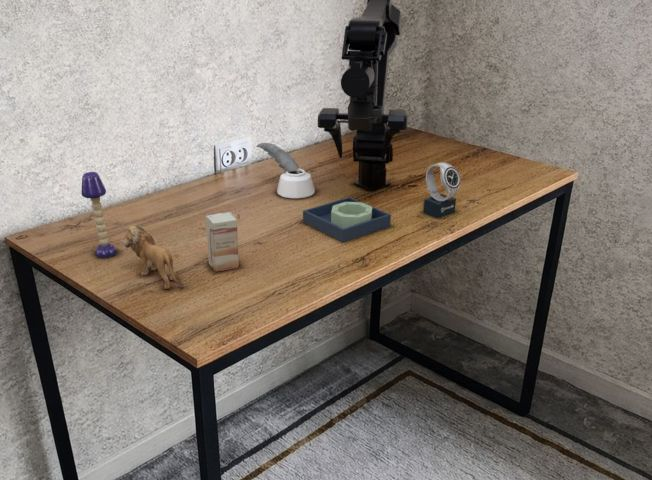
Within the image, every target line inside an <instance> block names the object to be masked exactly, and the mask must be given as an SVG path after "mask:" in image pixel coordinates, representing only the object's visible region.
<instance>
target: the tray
mask: <svg viewBox="0 0 652 480" xmlns="http://www.w3.org/2000/svg"><path fill="white" fill-rule="evenodd" d="M343 202H362V201H360V200H358V199H356V198H353V197H351V196H348V197H344V198H340V199H337V200H334V201H331V202H327V203H324V204H321V205H316V206H314V207H311V208H307V209H304V210H302V223H304V224H305V225H308V226H310V227H311V228H314V229H316V230H317V231H320V232H322V233H324V234H325V235H328V236H329V237H332V238H333V239H336V240H338V241H340V242H341V243H345V242H347V241H350V240H351V241H352V240H354V239H357V238H359V237H363V236H365V235H369V234H372V233H374V232H377V231H380V230H384V229H387V228H390V227H391V220H392V214H390V213H388V212H386V211H384V210H381V209H379V208H377V207H374V206H373V205H370V204H367V203H365V202H362V203H364V204H366V205H369V206H371V207H372V220H369V221H365V222H362V223H359V224H356V225H353V226H350V227H347V228H344V229H343V228H341V227H339V226H337V225H335V224H333V223H331V211H332V207H333V205H337V204H340V203H343Z"/></svg>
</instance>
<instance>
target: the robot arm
mask: <svg viewBox="0 0 652 480" xmlns="http://www.w3.org/2000/svg"><path fill="white" fill-rule="evenodd" d="M402 26H403V19H402V12H401V10H400V9H399V8H398V7H396V6H395V5H394V4H393V2H392V0H367V1H366V6H365V8H364V10H363V12H362V14H361V16H358V17H353V18H351V19H350V20H349V22H348V25H346V26H345V28H344V35H343V43H342V51H341V60H343V61H344V60H346V61H348V67H347V68H346V70H345V71H344V72H343V74H342V76H341V77H340V87H341V90H342V91H343V93H344V94H345V95H346V96H348V97H349V103H348V107H347V113H346V112H345V113H344V112H343V113H340V110H339V108H338V107H322V108H321V109H320V111H319V112H318V115H317V128H319V129H323V131H324V132H326V133H329V135H330V136H331V138H332V140H333V142H334V145H335V148H336V150H337V154H338V157H339V159H342V158H343V141H342V140H343V138H342V127H341V124H348V125H347V126H348V127H347V128H348V130H349V131H351V132H355V131H356V133H355V135H353V139H352V157H353V158H352V159H353V162H354V163H358V179H357V180H354V181H353V182H352V183H353V185H355V186H357V187H359V188H362V189H365V190H367V191H370V192H371V191H375V190H378V189H381V188H385V187H389V186H390V185H391V184H390V182H388V181H387V168H386V167H387V165H389V163H392V162H394V161H393V160H394V150H393V149H394V148H393V143H392V142H391V141H392V139H393V138H394V136H395V135H396V134H397V135H399V134H400V133H401V131H406V130H407V127H408V115H409V114H408V111H407V110H406V109H389V110H388V114H385V103H386V96H387V95H386V94H387V84H388V83H387V82H388V74H389V62H390V55H391V54H392V53H393V51H394V50H395V48H396V47H397V45H398V40H399V36H401V34H402V29H403V28H402Z"/></svg>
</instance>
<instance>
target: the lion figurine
mask: <svg viewBox="0 0 652 480" xmlns="http://www.w3.org/2000/svg"><path fill="white" fill-rule="evenodd" d="M127 229H128V231H127V233H126V234H125V236H124V237H123V238H122V239H121V240H120V242H121V243H122V244H123V245H124V247H125V249H129V248H130V249H131V251H132V252H134V253H135V254H136V257H138V258H139V261H140V264H141V267H142V269H143V270H142V271H141V272H140V275H141V276H147V275H149V272H150V271H149V267H148V261H149V262H150V263H151V266H150V270H151V271H156V270H157V271H158V273H159V275H160V276H161V278H162V279H163V281H164V283H165V284H164V285H163V289H164V290H169V289H171V281H174V282H175V283H176V284H177V285H178V286H179V287H184V286H185V284H184V283H182V282H181V281H180V280H178V279H177V278H176V274H175V271H174V259H173V256H172V254H171V252H170V251H169V249H167V248H166V247H162V246H160V245H159V244H157V243H156V242H155V240H154V238H153V236H152V235H151V233H149V232H148V231H147V230H145V229H144V228H143V227H141V226H139V225H131V226H128V227H127ZM166 267H167V268H168V271H169V277H168V275H167V273H166V269H165V268H166ZM170 280H171V281H170Z"/></svg>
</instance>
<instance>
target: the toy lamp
mask: <svg viewBox="0 0 652 480" xmlns="http://www.w3.org/2000/svg"><path fill="white" fill-rule="evenodd" d="M106 193H107V190H106V187H105V185H104V182H103V180H102V179H101V177H100V175H99V173H98V172H96V171H88V172H84V173H83V174H82V177H81V193H80V194H81V196H82V197H83V198H85V199H90V201H91V207H92V209H93V212H92V213H93V216H94V222H95V224H96V227H95V228H96V230H97V236H98V238H99V245H97V247H96V248H95V256H96V257H97V258H102V259H103V258H104V259H106V258H107V259H108V258H111V257H113V256H115V255H117V254H118V251H117V248H116V247H115V245H114V244H112V243H110V241H109V238H108V233H107V231H106V230H107V227H106V224H105V218H104V212H103V209H102V207H103V206H102V202H101V197H103V196H105V195H106Z"/></svg>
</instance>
